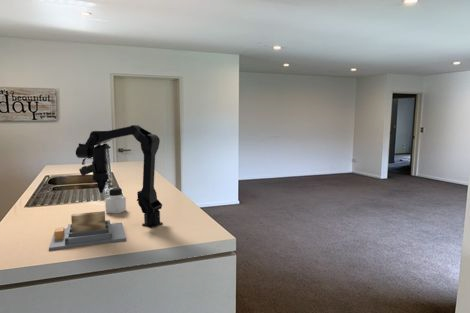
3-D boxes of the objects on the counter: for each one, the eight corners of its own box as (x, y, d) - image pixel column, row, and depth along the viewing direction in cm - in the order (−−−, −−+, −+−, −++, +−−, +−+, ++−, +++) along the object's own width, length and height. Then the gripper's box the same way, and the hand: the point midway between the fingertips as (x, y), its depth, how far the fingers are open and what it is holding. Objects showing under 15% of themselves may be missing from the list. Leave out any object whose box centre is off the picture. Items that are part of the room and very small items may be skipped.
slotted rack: (121, 224, 148) (121, 215, 148) (126, 240, 128) (126, 230, 128) (55, 231, 138) (54, 222, 138) (48, 250, 118) (48, 239, 118)
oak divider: (105, 230, 137) (104, 211, 136) (105, 232, 134) (104, 213, 133) (72, 234, 132) (71, 214, 131) (72, 236, 129) (71, 216, 128)
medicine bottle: (126, 210, 172) (125, 187, 171) (118, 213, 166) (117, 189, 164) (114, 209, 174) (113, 186, 173) (105, 212, 168) (104, 189, 166)
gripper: (80, 157, 157) (82, 190, 158) (79, 161, 139) (80, 198, 141) (106, 156, 161) (107, 188, 162) (107, 160, 144) (109, 196, 145)
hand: (101, 192), depth 153 cm, fingers closed
